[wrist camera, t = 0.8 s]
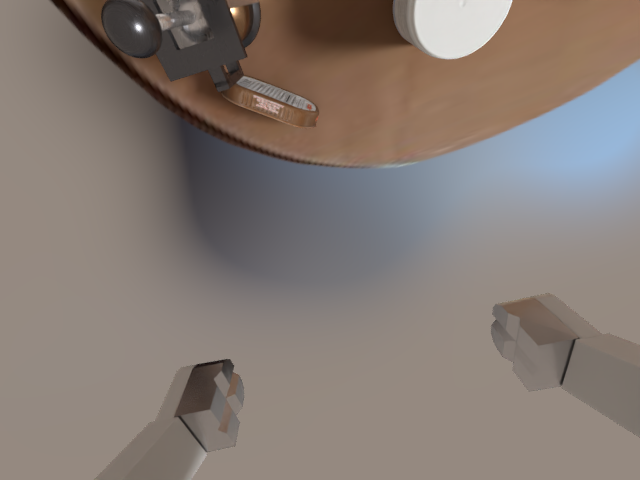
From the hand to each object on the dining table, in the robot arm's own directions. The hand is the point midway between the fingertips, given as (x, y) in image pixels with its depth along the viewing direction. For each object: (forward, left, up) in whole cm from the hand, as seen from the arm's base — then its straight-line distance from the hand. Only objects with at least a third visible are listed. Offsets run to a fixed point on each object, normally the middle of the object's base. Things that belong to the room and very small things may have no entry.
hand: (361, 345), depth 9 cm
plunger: (-10, -15, -34) cm, 38 cm away
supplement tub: (-4, +12, -47) cm, 48 cm away
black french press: (-9, -15, -46) cm, 49 cm away
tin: (+2, -12, -47) cm, 48 cm away
